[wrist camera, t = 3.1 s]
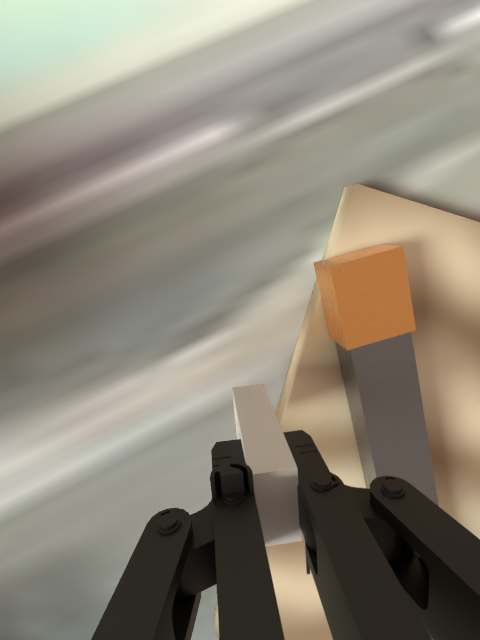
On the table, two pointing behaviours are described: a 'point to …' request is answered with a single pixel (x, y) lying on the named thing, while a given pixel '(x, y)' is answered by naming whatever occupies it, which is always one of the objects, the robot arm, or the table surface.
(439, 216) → the serving board
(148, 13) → the table surface
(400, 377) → the bar
